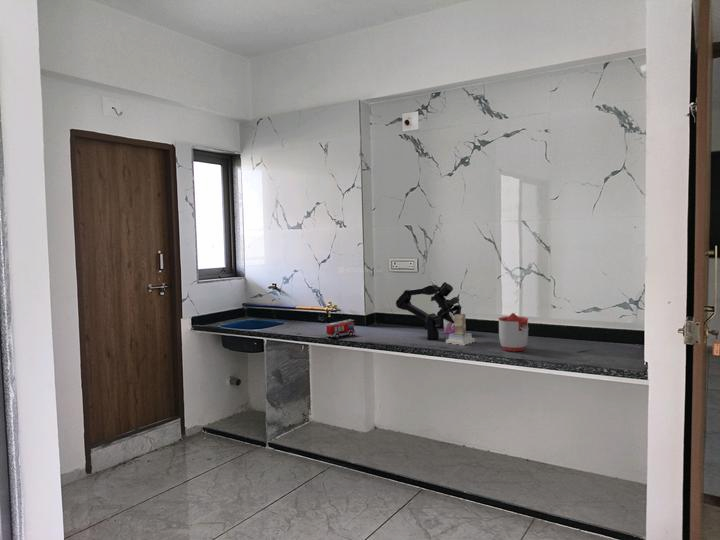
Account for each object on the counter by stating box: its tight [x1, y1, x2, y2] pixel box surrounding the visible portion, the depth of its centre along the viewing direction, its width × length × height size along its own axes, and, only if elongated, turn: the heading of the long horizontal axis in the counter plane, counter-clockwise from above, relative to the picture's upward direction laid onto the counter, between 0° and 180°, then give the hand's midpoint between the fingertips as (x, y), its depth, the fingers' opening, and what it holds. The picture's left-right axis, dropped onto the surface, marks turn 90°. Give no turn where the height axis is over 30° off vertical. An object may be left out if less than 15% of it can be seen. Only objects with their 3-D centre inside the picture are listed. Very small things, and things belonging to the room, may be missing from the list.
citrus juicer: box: [498, 312, 529, 353], centre depth 297 cm, size 16×17×20 cm
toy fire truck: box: [325, 318, 357, 339], centre depth 353 cm, size 9×19×10 cm, turn 123°
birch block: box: [454, 313, 467, 336], centre depth 321 cm, size 4×4×12 cm
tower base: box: [445, 332, 476, 346], centre depth 321 cm, size 12×12×5 cm
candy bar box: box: [443, 309, 462, 335], centre depth 348 cm, size 11×5×16 cm, turn 35°
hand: (458, 321), depth 321 cm, fingers open, 9 cm apart
